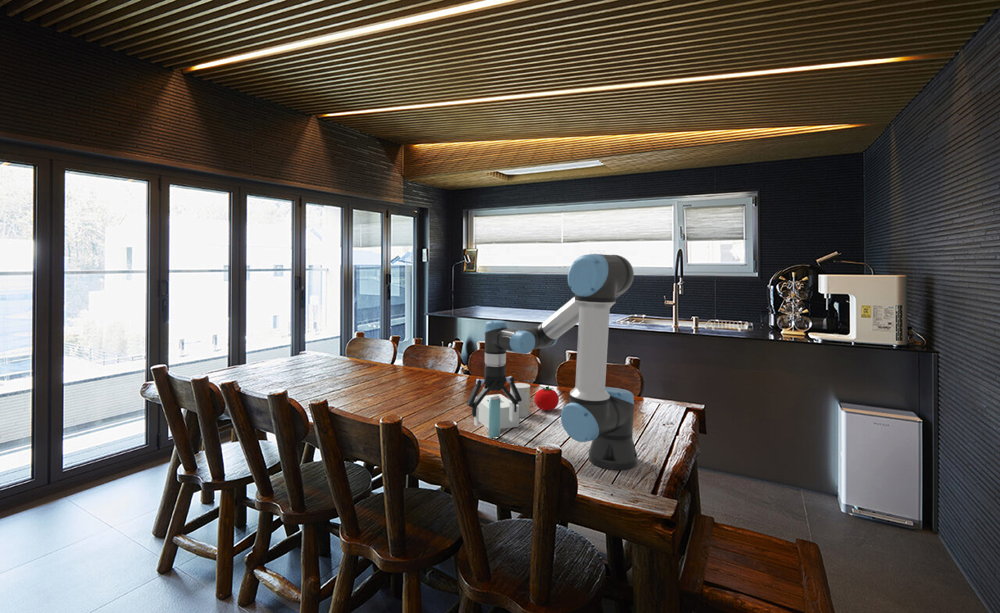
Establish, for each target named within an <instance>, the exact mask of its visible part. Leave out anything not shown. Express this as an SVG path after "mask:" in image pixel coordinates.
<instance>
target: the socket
mask: <svg viewBox="0 0 1000 613" xmlns="http://www.w3.org/2000/svg"><path fill="white" fill-rule="evenodd" d="M491 395H492V394H486V396H485V397H484V398H483V400H482V401H481V402H480V404H479V405H478V406H477V407H478V408H479V424H482V425H483V426H484V427H485V428H486V429H487V428H488V430H489V398H490V396H491ZM495 395H498V396H499V398H500V430H502V429H501V428H503V429H509V428H515V427H516V428H518V427H520V417H519V405H517V409H516V412H514V422H511V421H510V420H509V402H512V401H511V400H510V399H509V398H508V397H507V396H504V395H503V394H502V393H497V394H495ZM477 396H478V395H477ZM477 396H476V397H477ZM475 399H476V398H475Z"/></svg>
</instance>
